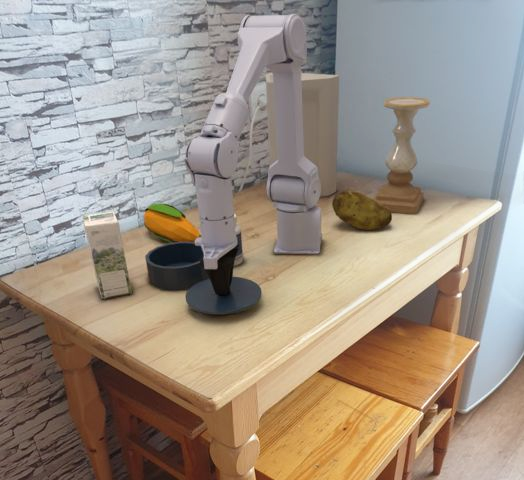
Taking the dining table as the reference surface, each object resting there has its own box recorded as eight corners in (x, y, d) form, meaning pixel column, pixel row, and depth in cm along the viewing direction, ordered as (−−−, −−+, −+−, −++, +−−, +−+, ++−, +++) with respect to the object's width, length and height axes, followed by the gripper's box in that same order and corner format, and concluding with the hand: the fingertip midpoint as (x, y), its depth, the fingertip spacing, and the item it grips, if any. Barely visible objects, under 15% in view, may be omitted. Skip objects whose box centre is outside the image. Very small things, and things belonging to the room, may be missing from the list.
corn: (159, 193, 130) (211, 212, 118) (165, 223, 135) (216, 246, 122) (131, 203, 127) (182, 224, 114) (139, 234, 131) (189, 258, 118)
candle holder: (370, 210, 137) (376, 104, 124) (380, 196, 145) (387, 95, 132) (415, 214, 133) (427, 106, 120) (423, 199, 141) (435, 96, 128)
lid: (266, 282, 104) (265, 259, 101) (255, 319, 93) (254, 293, 90) (196, 280, 106) (193, 257, 103) (177, 316, 95) (173, 291, 92)
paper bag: (246, 195, 151) (239, 80, 135) (279, 180, 160) (276, 71, 145) (306, 207, 141) (306, 84, 125) (337, 190, 150) (340, 75, 135)
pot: (218, 263, 115) (216, 242, 112) (204, 291, 105) (202, 268, 102) (159, 262, 117) (156, 241, 114) (140, 289, 107) (136, 267, 104)
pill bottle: (248, 259, 116) (245, 213, 111) (233, 269, 112) (229, 222, 107) (226, 254, 118) (223, 209, 113) (211, 264, 115) (206, 218, 109)
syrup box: (127, 281, 110) (113, 209, 102) (132, 294, 105) (118, 219, 97) (98, 287, 108) (81, 214, 100) (101, 300, 103) (84, 225, 96)
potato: (380, 237, 122) (383, 201, 118) (327, 228, 128) (327, 193, 124) (394, 225, 128) (397, 190, 124) (342, 216, 134) (343, 183, 130)
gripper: (202, 199, 98) (210, 271, 105) (180, 230, 86) (191, 309, 93) (242, 199, 97) (247, 271, 104) (226, 231, 85) (232, 310, 92)
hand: (223, 289), depth 99 cm, fingers closed on lid, 2 cm apart
